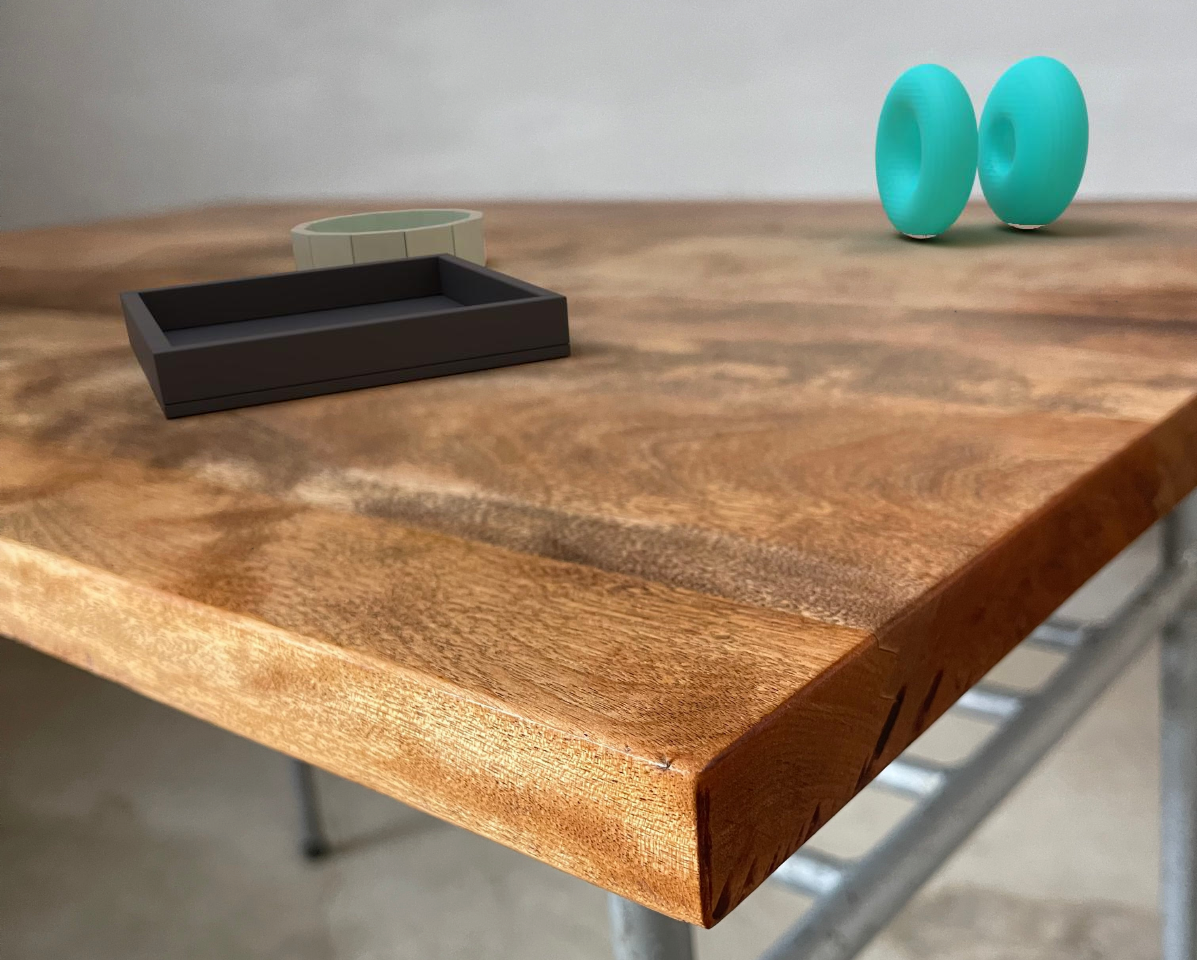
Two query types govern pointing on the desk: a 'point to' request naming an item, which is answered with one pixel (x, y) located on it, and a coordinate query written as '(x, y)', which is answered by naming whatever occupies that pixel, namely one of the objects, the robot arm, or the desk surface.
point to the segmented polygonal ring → (389, 237)
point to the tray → (336, 330)
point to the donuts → (981, 146)
